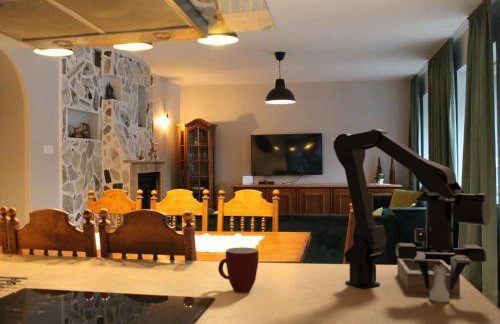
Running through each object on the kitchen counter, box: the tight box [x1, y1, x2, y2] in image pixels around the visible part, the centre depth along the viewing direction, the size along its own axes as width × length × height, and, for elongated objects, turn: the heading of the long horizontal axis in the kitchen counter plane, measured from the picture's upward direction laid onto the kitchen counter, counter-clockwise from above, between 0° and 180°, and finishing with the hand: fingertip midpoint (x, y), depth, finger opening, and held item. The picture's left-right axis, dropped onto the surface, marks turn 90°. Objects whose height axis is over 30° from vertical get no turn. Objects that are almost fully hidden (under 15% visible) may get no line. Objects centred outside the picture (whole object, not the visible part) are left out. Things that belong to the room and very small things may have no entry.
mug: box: [217, 246, 260, 294], centre depth 116 cm, size 10×8×10 cm
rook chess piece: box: [428, 264, 451, 304], centre depth 108 cm, size 4×4×8 cm
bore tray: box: [397, 258, 461, 295], centre depth 123 cm, size 18×12×4 cm, turn 170°
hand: (439, 289), depth 108 cm, fingers open, 5 cm apart
